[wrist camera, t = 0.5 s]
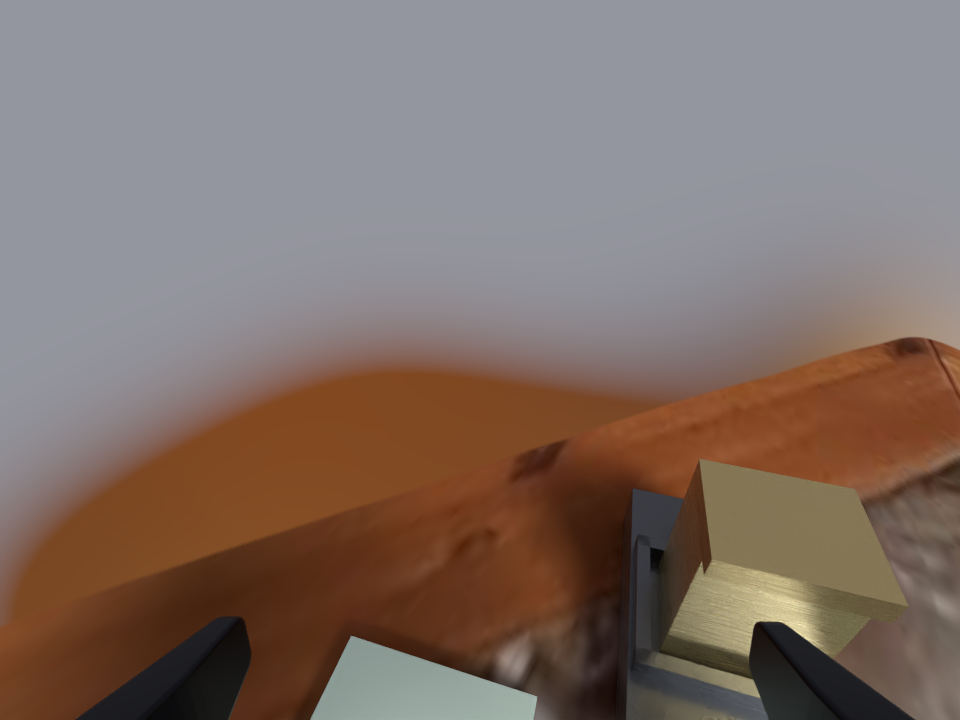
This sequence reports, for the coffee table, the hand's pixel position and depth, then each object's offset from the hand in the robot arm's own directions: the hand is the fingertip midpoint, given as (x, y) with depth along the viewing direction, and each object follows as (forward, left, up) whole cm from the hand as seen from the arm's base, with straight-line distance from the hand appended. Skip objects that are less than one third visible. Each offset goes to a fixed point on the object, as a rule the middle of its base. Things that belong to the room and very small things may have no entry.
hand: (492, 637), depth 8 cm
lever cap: (+5, -12, -13) cm, 18 cm away
